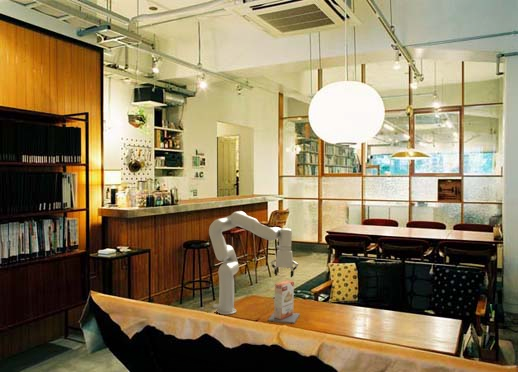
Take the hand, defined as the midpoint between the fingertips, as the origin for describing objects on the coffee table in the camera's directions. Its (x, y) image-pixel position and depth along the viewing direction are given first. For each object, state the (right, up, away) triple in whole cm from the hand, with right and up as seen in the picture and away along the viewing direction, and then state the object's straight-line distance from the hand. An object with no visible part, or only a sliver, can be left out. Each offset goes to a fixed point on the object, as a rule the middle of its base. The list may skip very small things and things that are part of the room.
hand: (283, 276), depth 268 cm
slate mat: (0, -26, 0) cm, 26 cm away
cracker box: (0, -25, 0) cm, 25 cm away
